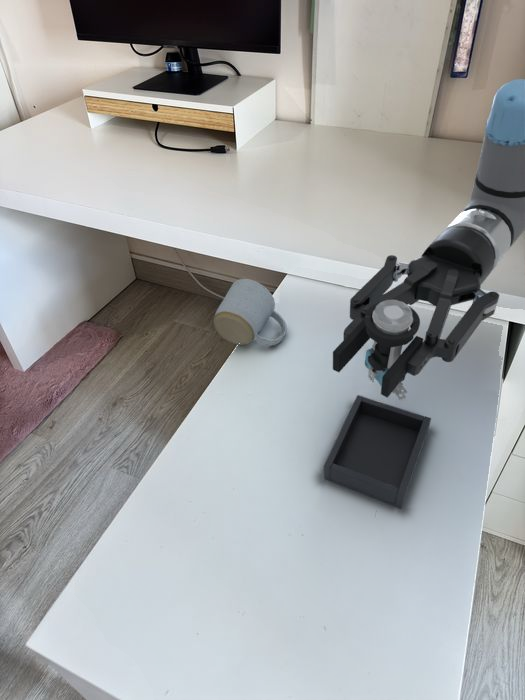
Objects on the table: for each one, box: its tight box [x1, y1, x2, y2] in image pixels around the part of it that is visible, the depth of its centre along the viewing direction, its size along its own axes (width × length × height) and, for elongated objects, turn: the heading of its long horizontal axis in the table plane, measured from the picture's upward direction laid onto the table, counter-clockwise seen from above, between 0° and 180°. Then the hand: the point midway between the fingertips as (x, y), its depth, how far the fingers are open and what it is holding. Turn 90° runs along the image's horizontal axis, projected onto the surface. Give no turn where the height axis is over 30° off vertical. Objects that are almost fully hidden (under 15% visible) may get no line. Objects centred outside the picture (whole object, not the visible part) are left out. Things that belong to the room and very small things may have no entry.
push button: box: [364, 300, 421, 401], centre depth 52 cm, size 7×5×10 cm
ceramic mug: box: [212, 278, 288, 347], centre depth 78 cm, size 11×8×8 cm
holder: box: [323, 394, 432, 509], centre depth 62 cm, size 10×12×3 cm
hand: (360, 374), depth 50 cm, fingers closed on push button, 5 cm apart
